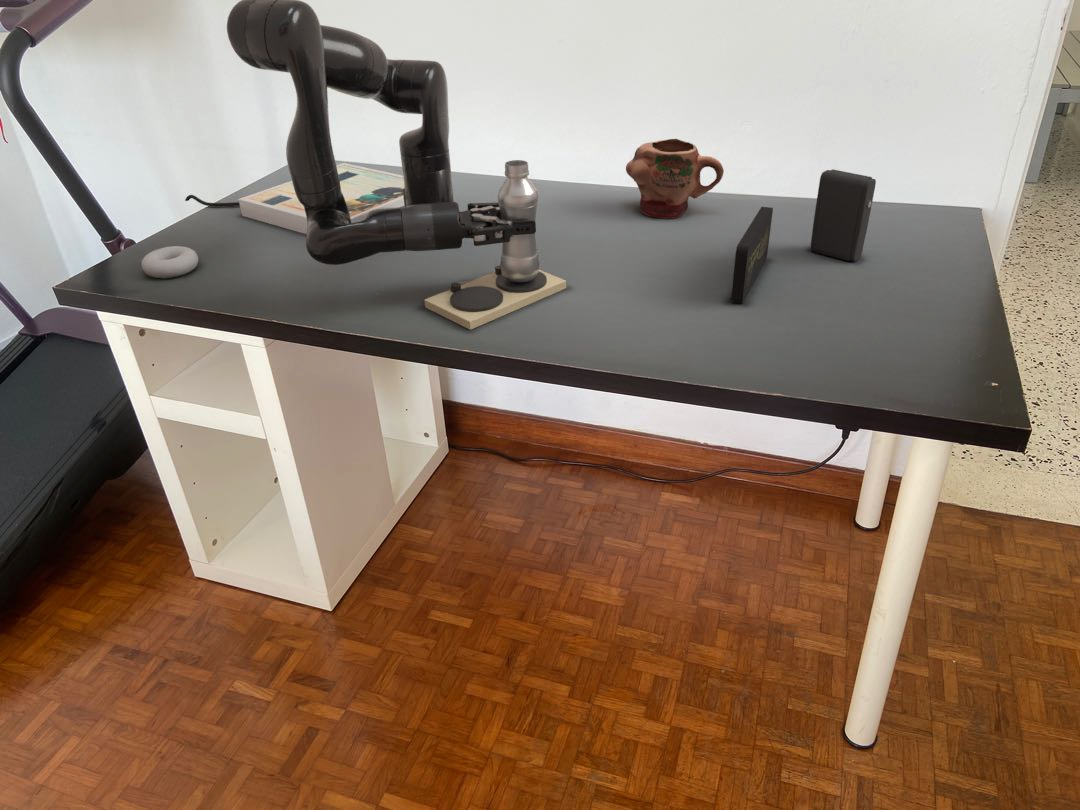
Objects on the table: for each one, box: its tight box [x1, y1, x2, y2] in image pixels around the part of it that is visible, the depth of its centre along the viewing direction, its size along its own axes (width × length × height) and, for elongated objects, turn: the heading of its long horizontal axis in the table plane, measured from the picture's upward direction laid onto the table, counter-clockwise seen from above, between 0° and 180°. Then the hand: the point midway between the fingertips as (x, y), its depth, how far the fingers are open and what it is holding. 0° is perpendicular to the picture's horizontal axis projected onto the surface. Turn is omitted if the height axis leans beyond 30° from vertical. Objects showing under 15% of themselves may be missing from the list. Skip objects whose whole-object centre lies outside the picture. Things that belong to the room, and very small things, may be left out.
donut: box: [141, 245, 199, 279], centre depth 157 cm, size 10×4×10 cm
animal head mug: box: [625, 138, 725, 219], centre depth 173 cm, size 20×12×14 cm, turn 77°
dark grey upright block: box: [810, 168, 877, 262], centre depth 151 cm, size 9×4×15 cm, turn 47°
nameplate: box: [730, 206, 774, 304], centre depth 144 cm, size 21×2×10 cm, turn 156°
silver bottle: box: [497, 159, 540, 282], centre depth 140 cm, size 6×7×20 cm
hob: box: [424, 264, 567, 331], centre depth 143 cm, size 12×22×3 cm, turn 134°
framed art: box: [238, 162, 405, 235], centre depth 184 cm, size 30×4×30 cm
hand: (532, 219), depth 140 cm, fingers closed on silver bottle, 6 cm apart
